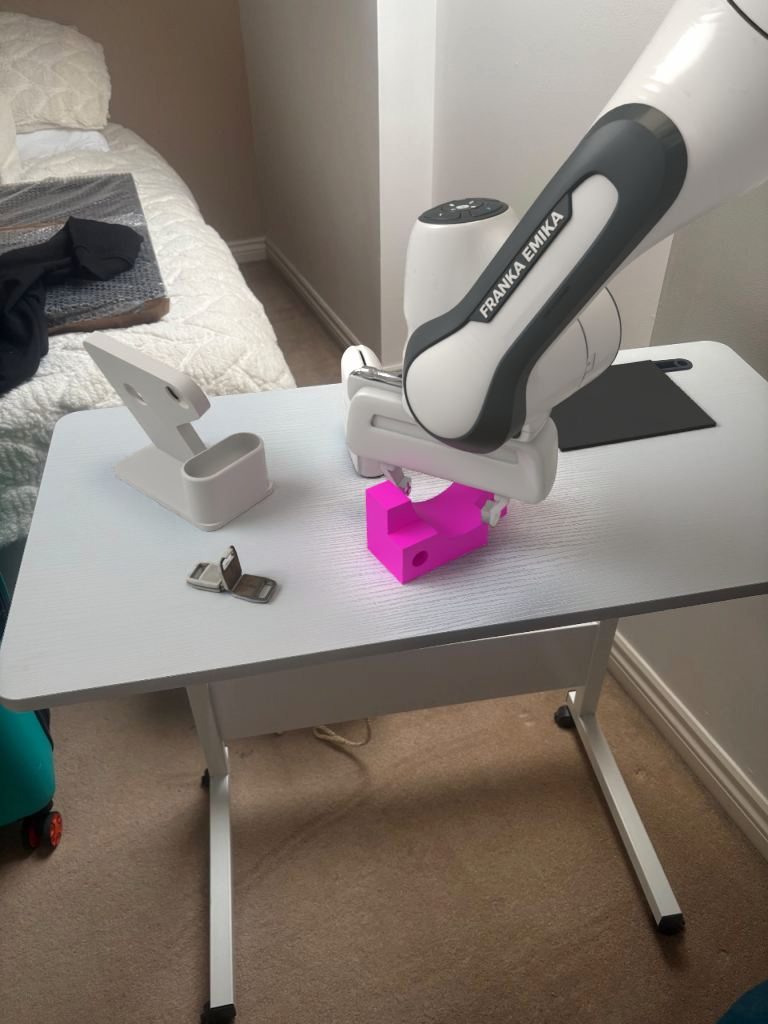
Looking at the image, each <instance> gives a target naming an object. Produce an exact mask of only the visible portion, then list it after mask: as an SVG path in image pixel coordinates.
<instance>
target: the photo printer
mask: <svg viewBox="0 0 768 1024" xmlns="http://www.w3.org/2000/svg"><path fill="white" fill-rule="evenodd" d="M362 366H372V367H375V368H377V369H380V370H384V369H383V367H382V364H381V361H380V359H379V358H378V357H377V355H376V354H375V352H374V351H373V349H371V348H369V347H368V346H366V345H363V344H360V345H359V344H358V345H351V346H349V347H348V348H347V349H345V351H344V352H343V354H342V357H341V361H340V371H341V391H342V394H341V395H342V410H343V411H342V412H343V427H344V435H345V437H346V429H347V419H348V412H349V407H350V403H351V401H350V399H349V397H348V391H347V380H348V376H349V374H350V373H351V372H352V371H353V370H355V369H360V368H362ZM347 448H348V451H349V455H350V458H351V462H352V464H353V467H354V470H355V472H356V473H357V475H361V476H362V477H366V478H373V477H374V478H375V477H379V476H382V475H384V473H383V471H382V470H381V462H380V461H376V460H373V459H369V458H366V457H362V456H358V455H355V454H354V453H353V452H352V451H351V450H350V448H349V447H348V446H347Z"/></svg>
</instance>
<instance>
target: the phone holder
mask: <svg viewBox="0 0 768 1024" xmlns="http://www.w3.org/2000/svg"><path fill="white" fill-rule="evenodd" d="M82 346H83V348H84V350H85V351H86V353H87V354H88V355H89V357H90V358H91V360H92V361H93V362H94V364H95V365H96V366H97V368H98V370H99V371H100V372H101V373H102V375H103V376H104V378H105V379H106V380H107V382H108V383H109V384H110V386H111V387H112V388H113V390H114V391H115V393H116V394H117V396H119V398H120V400H121V401H122V402H123V404H124V405H125V406H126V408H127V409H128V410H129V412H130V414H132V416H133V417H134V419H135V420H136V422H137V423H138V424H139V426H140V428H141V429H142V430H143V431H144V433H145V434H146V435H147V437H148V439H150V441H151V442H152V443H149V444H148V445H146V446H144V447H143V448H140V449H139V450H137V451H135V452H133V453H132V454H130V455H128V456H127V457H125V458H122V459H121V460H119V461H117V462H116V463H115V464H113V467H112V469H113V473H114V476H115V477H116V478H117V479H119V480H120V481H122V482H124V483H125V484H127V485H128V486H130V487H132V488H133V489H135V490H137V491H138V492H140V493H142V495H144V496H146V497H148V498H150V499H151V500H153V501H154V502H156V503H157V504H159V505H161V506H163V507H164V508H166V509H168V510H169V511H171V512H172V513H174V514H175V515H176V516H179V517H180V518H182V519H184V520H185V521H187V522H189V523H190V524H192V525H194V526H195V527H196V528H198V529H200V530H201V531H205V532H215V531H217V530H220V529H222V528H223V527H225V526H226V525H227V524H228V523H230V522H232V521H233V520H235V519H236V518H238V517H239V516H241V515H243V514H244V513H245V512H247V511H248V510H250V509H251V508H252V507H254V506H255V505H257V504H259V503H260V502H262V501H263V500H264V499H266V498H267V497H269V496H270V495H272V494H273V492H274V488H275V487H274V481H273V480H272V479H271V478H269V475H268V466H267V459H266V450H265V442H264V440H263V438H262V437H261V436H260V435H258V434H256V433H253V432H249V431H240V432H236V433H231V434H230V435H227V436H226V437H224V438H222V439H221V440H219V441H217V442H216V443H214V444H213V445H211V446H210V445H208V444H206V443H204V442H203V440H202V439H201V437H200V435H199V434H198V432H197V431H196V429H195V428H194V426H193V425H192V423H191V422H196V421H199V420H200V419H201V418H202V417H203V416H204V415H205V414H206V413H207V411H208V410H210V409H211V402H210V400H209V398H208V397H207V395H206V394H205V392H204V391H203V389H202V388H201V387H200V385H198V383H197V382H196V381H194V380H193V378H192V377H190V376H189V375H187V374H186V373H185V372H184V371H181V370H179V369H177V368H176V367H174V366H171V365H169V364H167V363H165V362H163V361H161V360H159V359H157V358H155V357H153V356H151V355H149V354H147V353H144V352H143V351H141V350H138V349H136V348H135V347H132V346H131V345H128V344H126V343H124V342H122V341H120V340H118V339H116V338H113V337H112V336H109V335H107V334H105V333H103V332H101V331H99V330H94V331H93V332H92V333H90V334H89V336H88V337H86V338H85V339H84V340H83V341H82Z"/></svg>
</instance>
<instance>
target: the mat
mask: <svg viewBox="0 0 768 1024" xmlns="http://www.w3.org/2000/svg"><path fill="white" fill-rule="evenodd" d="M549 417H550V418H551V419H552V420H553V422H554V423H555V426H556V429H557V433H558V450H559V451H560V452H562V453H563V452H568V451H569V452H570V451H575V450H582V449H587V448H593V447H599V446H605V445H612V444H617V443H623V442H629V441H637V440H641V439H647V438H653V437H659V436H660V437H661V436H665V435H671V434H677V433H685V432H691V431H695V430H702V429H709V428H713V427H716V426H717V422H716V421H715V420H714V418H712V417H711V416H710V415H709V414H708V413H707V412H706V411H705V410H704V409H703V408H702V407H701V406H700V405H698V403H697V402H695V400H694V399H692V398H691V397H690V396H689V395H688V394H687V393H686V392H685V391H684V390H683V389H682V388H681V387H680V386H679V385H678V384H677V383H676V382H675V381H674V380H673V379H672V378H671V377H670V376H668V374H666V373H665V371H663V370H662V369H661V368H660V367H659V366H658V365H657V364H656V363H655V362H654V361H653V360H652V359H645V360H639V361H632V362H624V363H618V364H612V365H611V366H610V367H609V368H608V369H607V370H606V371H604V372H603V373H601V374H600V375H599V376H598V377H597V378H595V379H594V380H592V381H591V382H589V383H588V384H586V385H585V386H584V387H582V388H581V389H579V390H578V391H576V392H575V393H573V394H572V395H571V396H569V397H568V398H566V399H565V400H563V401H562V402H560V403H559V404H557V405H556V406H554V407H553V408H552V411H551V413H550V416H549Z"/></svg>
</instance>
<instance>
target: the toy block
mask: <svg viewBox="0 0 768 1024" xmlns="http://www.w3.org/2000/svg"><path fill="white" fill-rule="evenodd" d="M364 492H365V523H366V524H365V526H366V549H367V550H368V551H369V553H371V554H372V555H373V556H374V557H375V558H376V559H377V560H378V561H379V562H380V563H381V564H382V565H383V566H384V567H385V569H386V570H388V571H389V573H390V574H391V575H392V576H393V577H395V579H396V580H397V581H398V582H399V583H400V584H401V585H404V584H407V583H409V582H411V581H413V580H415V579H417V578H419V577H422V576H423V575H425V574H427V573H429V572H432V571H433V570H435V569H438V568H440V567H442V566H445V565H446V564H448V563H450V562H453V561H454V560H457V559H459V558H461V557H463V556H465V555H467V554H470V553H471V552H473V551H476V550H477V549H480V548H482V547H483V546H486V545H487V544H488V537H489V536H488V535H489V526H490V525H488V524H485V523H482V522H480V519H481V517H482V516H481V510H482V508H483V506H485V503H486V501H487V500H491V501H496V500H494V493H491V492H487V491H484V490H480V489H477V488H473V487H470V486H466V485H462V484H459V483H455V482H451V484H450V485H449V486H448V487H447V488H445V489H444V490H443V491H441V492H440V493H439V494H437V495H435V496H433V497H430V498H428V499H425V500H422V501H412V499H411V498H410V497H409V496H406V495H405V494H404V493H403V492H402V491H401V490H400V489H399V488H398V487H396V486H395V485H394V484H393V483H392V482H391V481H390V480H388V479H387V480H385V481H382V482H380V483H377V484H374V485H372V486H370V487H368V488H365V491H364ZM507 511H508V504H507V505H506V506H505V507H504V508H503V509H502V510H501V514H500V518H501V517H504V516H506V515H507Z"/></svg>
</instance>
